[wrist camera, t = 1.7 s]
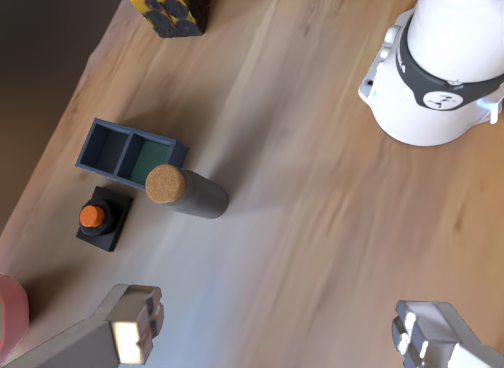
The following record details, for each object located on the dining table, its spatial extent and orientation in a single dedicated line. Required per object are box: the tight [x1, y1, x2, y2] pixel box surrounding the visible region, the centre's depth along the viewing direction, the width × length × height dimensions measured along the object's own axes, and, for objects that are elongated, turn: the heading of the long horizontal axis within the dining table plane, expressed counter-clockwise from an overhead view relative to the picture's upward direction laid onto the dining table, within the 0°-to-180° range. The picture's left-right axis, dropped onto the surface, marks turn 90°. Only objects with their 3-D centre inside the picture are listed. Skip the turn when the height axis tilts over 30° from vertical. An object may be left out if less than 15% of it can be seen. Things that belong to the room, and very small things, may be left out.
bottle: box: [146, 164, 228, 219], centre depth 41 cm, size 6×6×15 cm
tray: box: [75, 118, 189, 191], centre depth 51 cm, size 10×18×4 cm, turn 71°
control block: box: [76, 186, 133, 252], centre depth 51 cm, size 10×8×3 cm
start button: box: [80, 205, 104, 227], centre depth 49 cm, size 4×4×2 cm
